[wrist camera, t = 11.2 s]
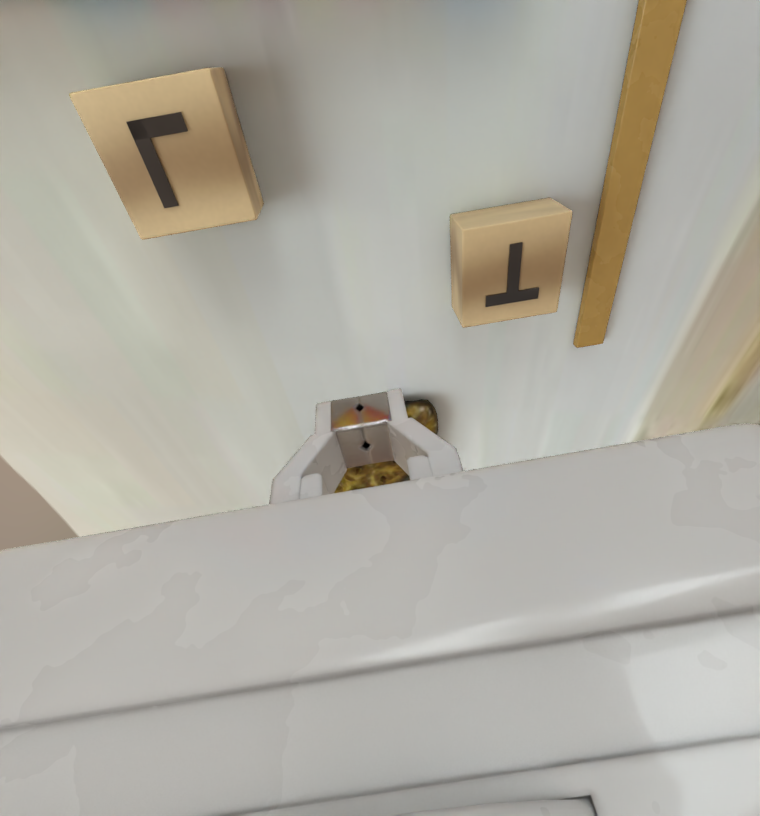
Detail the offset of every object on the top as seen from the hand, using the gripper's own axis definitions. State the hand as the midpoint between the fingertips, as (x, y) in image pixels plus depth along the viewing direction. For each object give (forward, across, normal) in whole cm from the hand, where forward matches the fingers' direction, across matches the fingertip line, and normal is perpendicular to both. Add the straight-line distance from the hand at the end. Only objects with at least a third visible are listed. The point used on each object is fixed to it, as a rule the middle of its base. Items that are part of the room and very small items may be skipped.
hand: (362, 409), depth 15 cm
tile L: (+14, +7, -7) cm, 18 cm away
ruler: (+14, -16, -2) cm, 22 cm away
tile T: (+14, -9, +2) cm, 17 cm away
